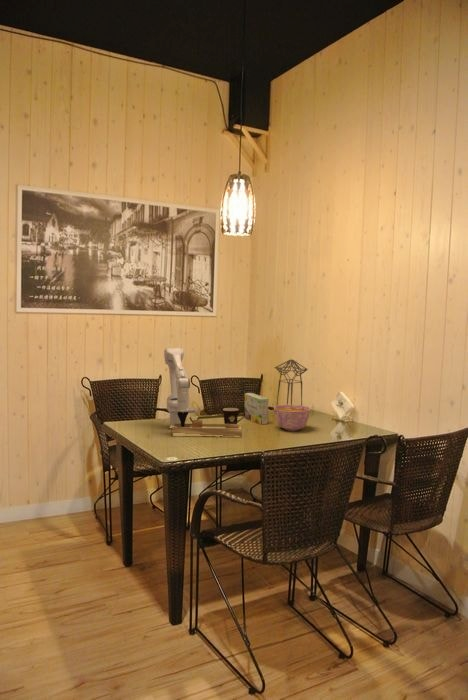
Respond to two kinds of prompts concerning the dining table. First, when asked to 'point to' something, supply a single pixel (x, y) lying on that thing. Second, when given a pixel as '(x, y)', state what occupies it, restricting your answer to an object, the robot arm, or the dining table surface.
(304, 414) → the bowl of food
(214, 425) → the trap trough
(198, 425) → the walnut block
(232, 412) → the coffee mug
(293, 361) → the geometric lantern
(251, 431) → the dining table surface
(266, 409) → the snack box
